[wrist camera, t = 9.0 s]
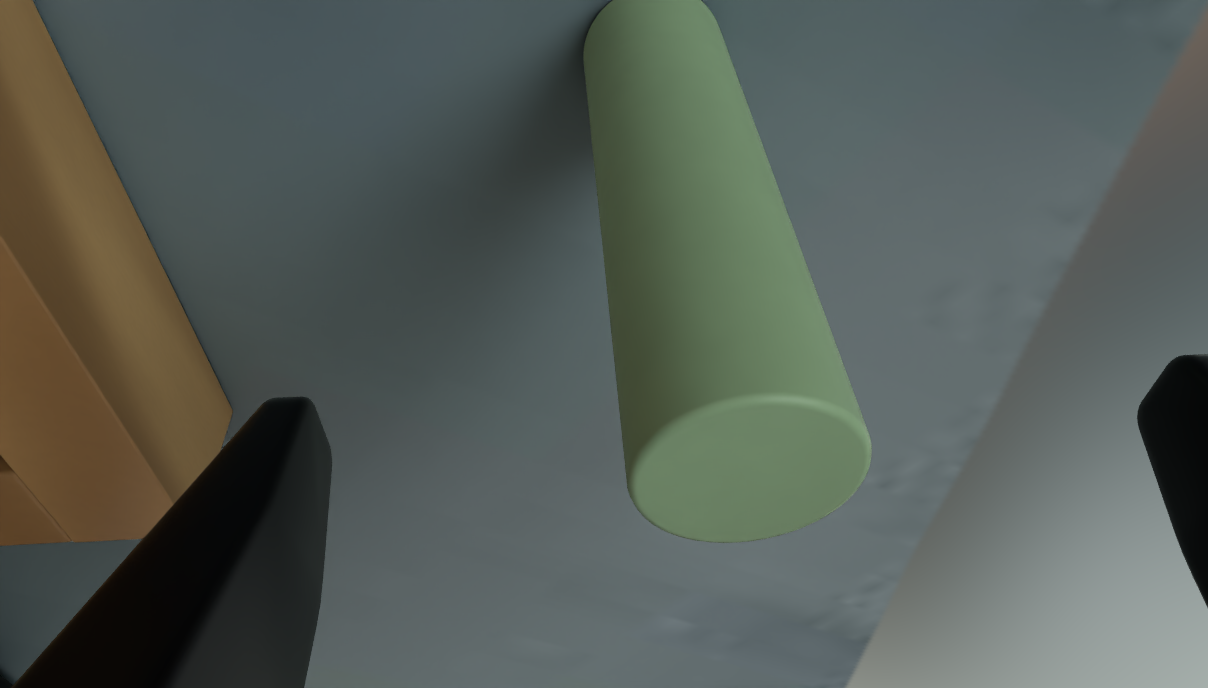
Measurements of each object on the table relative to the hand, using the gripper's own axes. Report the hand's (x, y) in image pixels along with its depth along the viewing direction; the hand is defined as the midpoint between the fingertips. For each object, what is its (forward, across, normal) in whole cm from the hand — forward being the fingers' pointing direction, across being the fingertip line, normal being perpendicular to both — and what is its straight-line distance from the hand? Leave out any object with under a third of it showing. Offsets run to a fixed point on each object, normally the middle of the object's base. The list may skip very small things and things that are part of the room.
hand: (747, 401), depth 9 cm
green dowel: (+8, 0, 0) cm, 8 cm away
